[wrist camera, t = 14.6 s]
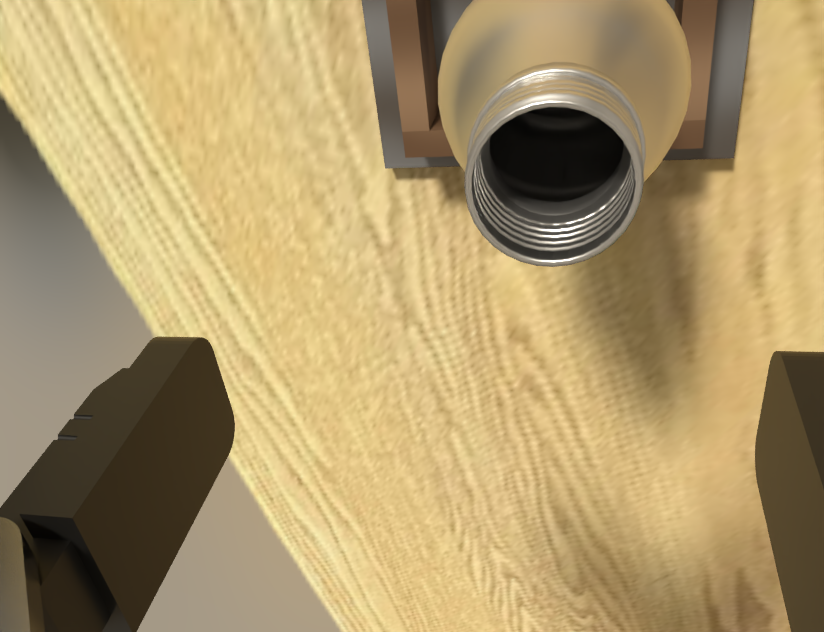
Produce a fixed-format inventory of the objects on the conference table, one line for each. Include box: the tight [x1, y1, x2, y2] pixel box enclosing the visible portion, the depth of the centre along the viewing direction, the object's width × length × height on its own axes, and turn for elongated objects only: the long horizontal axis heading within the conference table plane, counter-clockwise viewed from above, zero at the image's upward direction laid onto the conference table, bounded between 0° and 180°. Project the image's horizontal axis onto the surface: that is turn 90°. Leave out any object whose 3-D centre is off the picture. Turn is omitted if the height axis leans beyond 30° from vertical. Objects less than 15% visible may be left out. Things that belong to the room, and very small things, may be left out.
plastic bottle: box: [438, 0, 691, 267], centre depth 24 cm, size 6×7×20 cm
